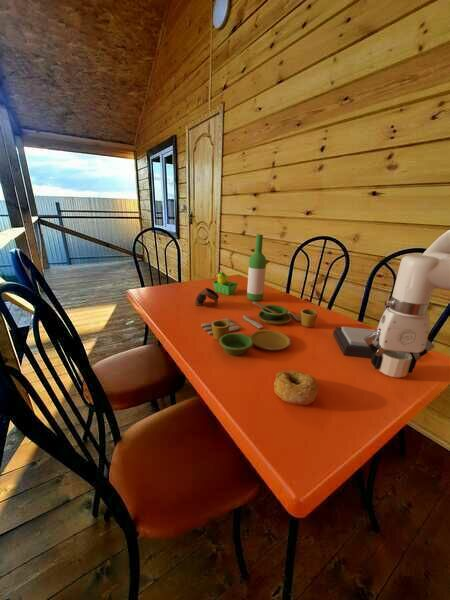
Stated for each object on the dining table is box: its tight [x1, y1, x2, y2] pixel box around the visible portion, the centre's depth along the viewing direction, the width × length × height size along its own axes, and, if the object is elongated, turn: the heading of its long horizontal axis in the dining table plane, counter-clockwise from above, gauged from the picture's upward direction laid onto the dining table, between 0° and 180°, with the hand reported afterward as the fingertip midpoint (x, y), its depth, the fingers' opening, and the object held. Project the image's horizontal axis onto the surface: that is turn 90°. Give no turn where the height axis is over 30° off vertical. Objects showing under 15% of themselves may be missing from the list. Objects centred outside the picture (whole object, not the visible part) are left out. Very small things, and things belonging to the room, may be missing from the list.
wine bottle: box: [246, 233, 267, 302], centre depth 117 cm, size 8×8×30 cm
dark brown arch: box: [194, 287, 220, 307], centre depth 111 cm, size 12×10×8 cm
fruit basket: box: [212, 271, 239, 296], centre depth 128 cm, size 11×9×11 cm
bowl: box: [377, 350, 412, 379], centre depth 67 cm, size 7×7×6 cm
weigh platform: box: [341, 326, 377, 347], centre depth 80 cm, size 10×10×2 cm
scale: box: [332, 326, 373, 359], centre depth 80 cm, size 16×14×3 cm
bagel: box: [273, 370, 320, 406], centre depth 58 cm, size 10×11×5 cm
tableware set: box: [200, 301, 319, 357], centre depth 88 cm, size 41×28×6 cm
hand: (391, 367), depth 68 cm, fingers closed on bowl, 7 cm apart
